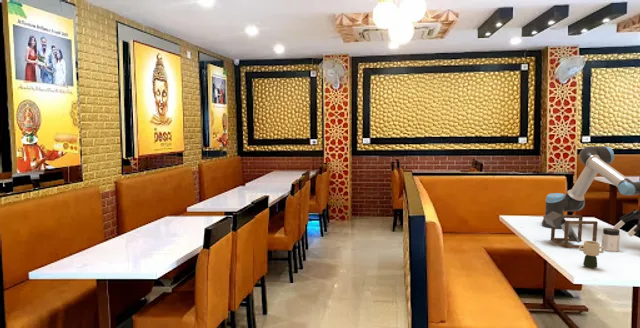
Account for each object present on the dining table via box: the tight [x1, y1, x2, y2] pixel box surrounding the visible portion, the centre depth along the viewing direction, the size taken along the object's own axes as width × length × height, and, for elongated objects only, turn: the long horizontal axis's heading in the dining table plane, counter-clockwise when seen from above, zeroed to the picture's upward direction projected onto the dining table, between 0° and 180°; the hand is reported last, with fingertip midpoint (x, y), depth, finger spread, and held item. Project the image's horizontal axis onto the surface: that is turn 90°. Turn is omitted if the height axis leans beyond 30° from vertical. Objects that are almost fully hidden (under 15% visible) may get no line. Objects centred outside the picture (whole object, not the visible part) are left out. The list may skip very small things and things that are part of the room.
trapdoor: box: [543, 211, 581, 244], centre depth 284 cm, size 14×19×8 cm
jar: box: [600, 227, 621, 253], centre depth 273 cm, size 9×8×12 cm
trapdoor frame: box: [550, 214, 599, 249], centre depth 284 cm, size 18×18×16 cm
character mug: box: [578, 240, 605, 269], centre depth 239 cm, size 11×7×13 cm, turn 68°
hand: (621, 232), depth 271 cm, fingers open, 13 cm apart
